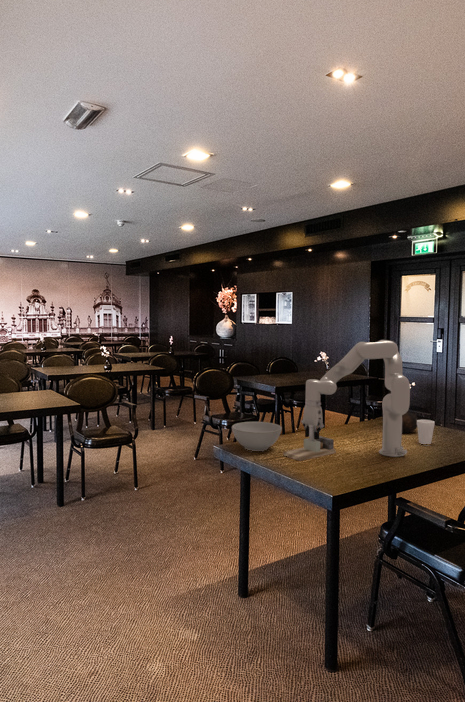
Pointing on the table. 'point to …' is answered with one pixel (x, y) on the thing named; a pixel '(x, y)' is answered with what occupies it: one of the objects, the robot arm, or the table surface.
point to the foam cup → (425, 431)
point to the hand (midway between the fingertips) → (312, 437)
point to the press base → (307, 454)
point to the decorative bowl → (256, 434)
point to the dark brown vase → (409, 422)
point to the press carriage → (311, 441)
